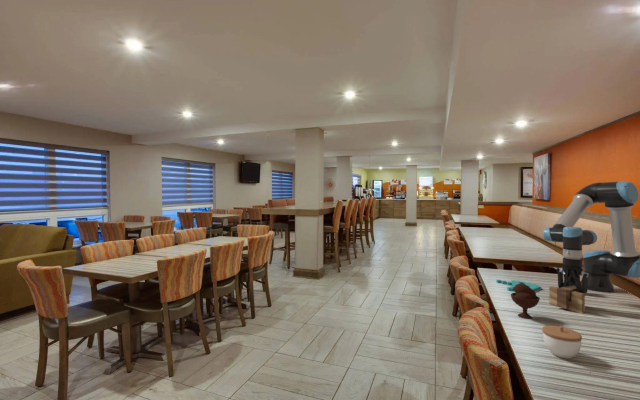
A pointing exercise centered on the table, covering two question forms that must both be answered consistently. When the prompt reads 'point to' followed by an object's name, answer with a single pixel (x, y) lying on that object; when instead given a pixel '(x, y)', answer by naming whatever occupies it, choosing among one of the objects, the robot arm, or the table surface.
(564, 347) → the lidded jar
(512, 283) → the alien figure
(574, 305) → the oak board
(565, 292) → the walnut plate
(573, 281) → the dixie cup
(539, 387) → the table surface
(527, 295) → the ice cream bowl
